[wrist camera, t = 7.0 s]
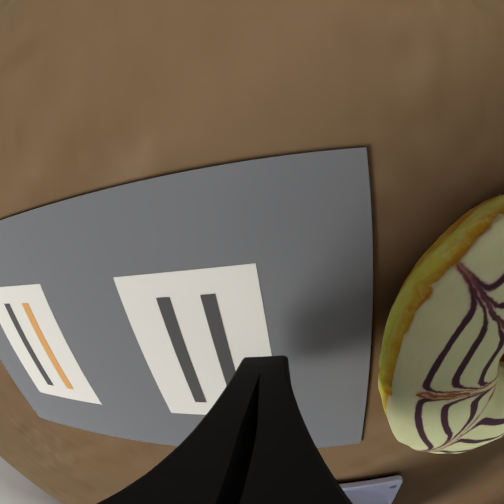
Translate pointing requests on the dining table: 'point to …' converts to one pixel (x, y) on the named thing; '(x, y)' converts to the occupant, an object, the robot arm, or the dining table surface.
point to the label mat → (194, 295)
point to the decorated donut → (449, 340)
